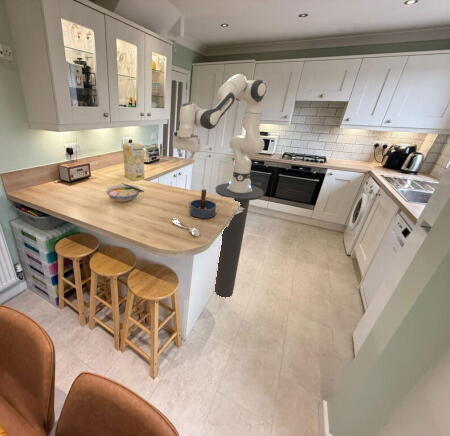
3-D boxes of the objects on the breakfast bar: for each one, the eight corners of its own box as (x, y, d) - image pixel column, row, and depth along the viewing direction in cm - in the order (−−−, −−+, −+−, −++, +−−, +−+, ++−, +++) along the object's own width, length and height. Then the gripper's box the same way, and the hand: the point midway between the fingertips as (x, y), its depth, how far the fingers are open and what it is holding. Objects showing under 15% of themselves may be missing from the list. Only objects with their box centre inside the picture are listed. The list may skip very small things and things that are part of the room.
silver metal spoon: (169, 216, 126) (176, 213, 128) (169, 221, 127) (175, 219, 130) (194, 232, 112) (201, 230, 114) (194, 239, 114) (201, 236, 116)
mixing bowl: (193, 206, 147) (194, 198, 144) (217, 211, 141) (218, 201, 139) (185, 216, 135) (186, 206, 132) (211, 221, 129) (212, 211, 126)
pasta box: (144, 179, 201) (143, 145, 189) (133, 180, 196) (131, 146, 184) (135, 174, 215) (133, 142, 203) (124, 175, 210) (122, 143, 198)
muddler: (199, 210, 140) (201, 188, 134) (206, 211, 139) (208, 189, 132) (197, 213, 137) (199, 190, 130) (204, 214, 135) (206, 191, 129)
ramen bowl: (100, 198, 159) (98, 187, 155) (128, 191, 172) (127, 180, 169) (118, 210, 142) (117, 197, 138) (148, 201, 155) (148, 189, 151)
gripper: (203, 135, 129) (202, 160, 135) (178, 131, 143) (178, 154, 150) (196, 135, 126) (194, 161, 132) (171, 132, 140) (170, 155, 146)
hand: (185, 157), depth 141 cm, fingers open, 8 cm apart
